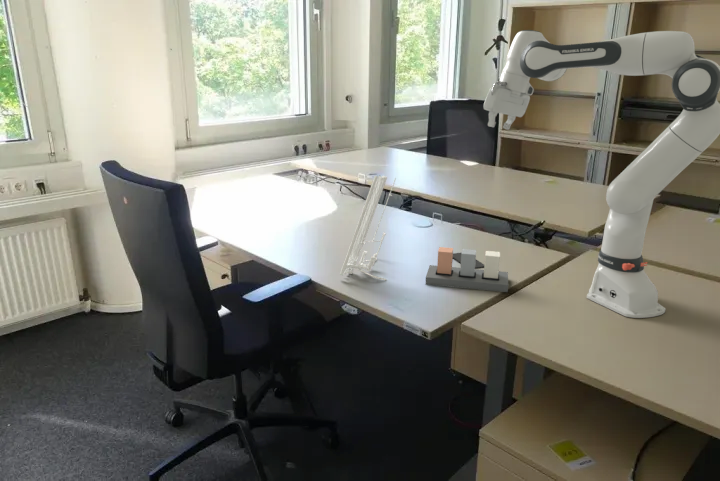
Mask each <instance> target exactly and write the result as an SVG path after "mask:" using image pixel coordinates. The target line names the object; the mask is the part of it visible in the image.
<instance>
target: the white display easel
mask: <svg viewBox="0 0 720 481" xmlns="http://www.w3.org/2000/svg"><path fill="white" fill-rule="evenodd" d="M387 179H388V176H385V175H374V177H373V180H372V183H371V185H370V188H369V191H368V194H367V197H366V200H365V203H364V205H363V207H362V211H361V214H360V216H359V218H358V222H357V224H356V227H355V231H354V234H353V236H352V239H351V242H350V243H349V244H350V245H349V247H348V250H347V253H346V256H345V259H344V262H343V264H342V267H341V269H340V272H339V275H340V276H344V275H346V274H347V275H353V274H352V273H354V270H357V271H359V272H361V273H363V274H366V275H368V276H369V277H370V278H373V279H378V280H382V281H387V278H385V277H379V276H376V275H374V274H373V275H372V274H371V273H368V272H370V271H372V267H374V266H375V264H376V261H378V259H377V257H378V255H379V252H380V250H381V246H382V244H383V241H384V238H385V236H386V234H387V233H386V232H385V231H384V232H382V236H381V238H380V240H375V238H376V234H377V232H378V228H379V227H380V222H381V221H382V218H383V215H384V212H385V210H386V207H387V204H388V202H389V199H390V197H393V195H392V190H393V189H394V188H393V187H394V185H395V182H396V179H397V178H396V177H395V178H394V180H393V184H392V186H391V189H390V190H389V193H388V197H387V199H386V203H385V205H384V207H383V211H382V213H381V216H380V220H379V221H378V224H377V228H376V230H375V232H374V236H373V238H372V240H366V237H367V234H368V233H369V230H370V226H371V223H372V220H373V217H374V216H375V212H376V209H377V207H378V204H379V202H380V199H381V196H382V194H383V191H384V187H385V184H386V182H387ZM375 242H380V244H379V247H378V249H377V251H376V253H374V254H373V256H372V255H370V259H367V260H365V258H366V255H367V253H368V251H366V250H363V251H362V248H363V245H366V243H375ZM361 251H362V255H361V257H360V260H359V256H360V254H361ZM358 260H359V261H358ZM357 262H358V264H357ZM366 262H369V263H366ZM363 269H365V270H366V271H365V270H363ZM367 271H368V272H367Z"/></svg>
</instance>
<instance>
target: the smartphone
mask: <svg viewBox="0 0 720 481" xmlns="http://www.w3.org/2000/svg"><path fill="white" fill-rule="evenodd" d="M461 253H462V252H455V253H454V252H453V260H454V261H455V262H457V263H459V264H460V265H461ZM484 266H485V263H482V262H481V261H479V260H478V259H476V260H475V269H484Z"/></svg>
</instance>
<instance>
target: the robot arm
mask: <svg viewBox="0 0 720 481" xmlns="http://www.w3.org/2000/svg"><path fill="white" fill-rule="evenodd" d="M508 49H509V50H508V52H507V55H506V62H505V65H504V67H503V68H502V70H501V72H500V73H501V74H500V77H499V80H496V81H495V83H493V84H492V86H491V87H490V88H489V90H488V92H487V94H486V97H485V99H484V103H483V110H485V111H488V122H487V126H488V127H491V128H495V126H496V124H497V121H496V117H497V115H498V114H501V115H507V119H506V121H505V122H503V126H502V128H503V129H505V130H507V131H508V130H510V129H511V125H512V124H513V123H514V121H516V117H518V118H522V117H523V116H524V115H525V114H526V111H527V109H528V106H529V103H530V100H531V97H530V96H532V95H533V93H534V92H535V89H534V87H533V86H532V84H531V83H530V79H531V78H532V79H539V80H542V81H545V82H555V81H558V80H559V79H561V78H562V77H563V76H565V74H566V72H567V70H568V69H569V70H570V69H579V68H581V69H582V68H594V69H600V70H603V71H606V72H610V73H612V74H615V75H619V76H630V77H631V76H633V77H636V76H637V77H638V76H650V75H666V76H668V77H670V78H671V90H672V93H673V95H674V97H675V99H676V100H677V101H678V103H679V104H680V106H681V107H682V108H683V109H682V111H681V113H680V114H679V115H678V116H677V117H676V118H675V119H674V120H673V121H671V123H670V124H669V125H668V126H667V127H666V128H665V129H664V130H663V131H662V132H661V133H660V134H659V135H658V136H657V137H656V138H655V139H654V140H653V141H652V142H651V143H650V144H649V145H647V147H646V148H645V149H644V150H643V151H642V152H641V153H640V154H639V155H638V156H637V157H636V158H634V160H633V161H632V162H630V164H628V165H627V166H626V168H624V170H622V172H620V174H618V175H617V176H616V177H615V178H614V179H613V180H612V181H611V182H610V183H609V184H608V186H607V189H606V193H605V200H606V203H607V204H606V205H607V206H608V207H609V211H608V215H607V217H606V218H607V219H606V221H605V223H604V228H603V229H604V230H603V237H602V242H601V248H600V249H599V251H598V255H597V256H598V257H597V262H598V265H597V267H596V269H595V272H594V275H593V278H592V282H591V285H590V288H589V289H588V293H587V294H586V299H588V300H590V301H592V302H595V303H597V304H598V305H601V306H602V307H604V308H607V309H609V310H611V311H613V312H615V313H617V314H620V315H622V316H624V317H626V318H635V319H642V318H643V319H644V318H645V319H646V318H653V317H658V316H661V315H663V314H664V313H666V307H664V306H663V305H661V303H659V302H658V300H659V293H658V292H659V291H658V289H657V288H656V285H655V283H653V282H652V280H651V279H650V277H649V276H648V274H647V273H646V271H645V267H647V266H648V262H646V261H645V262H644V259H643V258H644V257H643V255H642V252H643V248H644V243H645V236H646V231H647V228H648V225H649V220H650V216H651V212H652V208H653V205H654V204H653V203H654V199H655V197H657V196H658V195H659V194H660V193H661V192H662V191H663V190H664V189H665V188H666V187H667V186H668V185H669V184H670V183H671V182H672V181H674V180H675V178H676V177H677V176H679V174H681V173H682V171H684V170H685V169H686V168H687V167H688V166H689V165H690V164H691V163H693V162H694V161H695V160H696V159H697V158H698V157H699V156H700V155H701V154H702V153H703V152H704V151H706V150H707V149H708V148H709V147H710V146H711V145H712V144H713V143H714V141H716V140H717V138H718V137H719V135H720V102H719V100H718V98H717V97H718V94H719V92H720V65H719V64H718V63H717V62H716V61H714V60H712V59H709V58H705V57H702V56H700V55H698V54H696V50H695V49H696V46H695V41H694V38H693V37H692V35H691V34H690V33H689V32H686V31H682V30H681V31H678V30H676V31H675V30H658V31H647V32H640V33H634V34H629V35H624V36H620V37H619V36H618V37H616V38H612V39H606V40H602V41H595V42H593V41H592V42H586V43H585V42H584V43H574V44H572V43H571V44H562V45H561V44H559V45H558V44H555V43H554V44H553V43H551V42H549V41H548V39H546V37H545V36H544V34H543V33H542V32H540V31H538V30H532V29H523V30H519V31H518V32H517V33H516V34H515V36H514V37H513V40H512V42H511V44H510V47H509V48H508Z"/></svg>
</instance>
